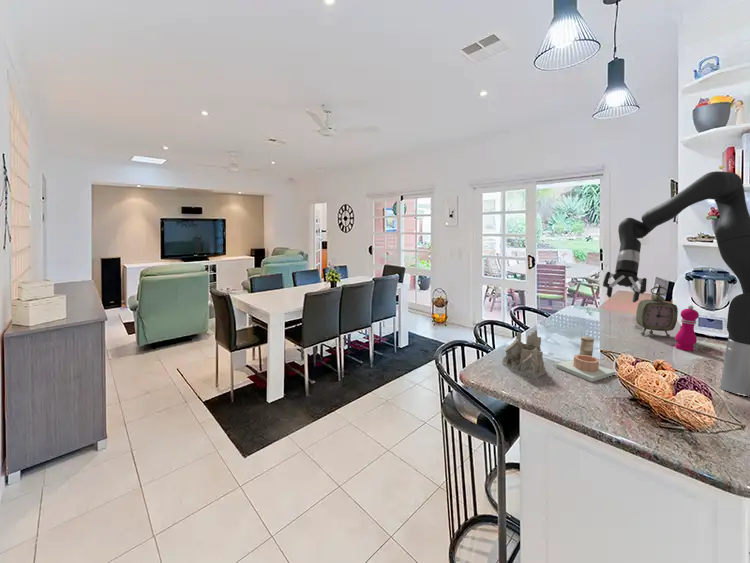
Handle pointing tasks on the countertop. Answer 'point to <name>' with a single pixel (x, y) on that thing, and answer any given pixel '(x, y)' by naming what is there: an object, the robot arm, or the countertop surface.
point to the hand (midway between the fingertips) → (621, 299)
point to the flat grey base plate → (586, 368)
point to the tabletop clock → (656, 314)
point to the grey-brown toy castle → (525, 356)
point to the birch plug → (586, 346)
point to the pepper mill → (687, 330)
